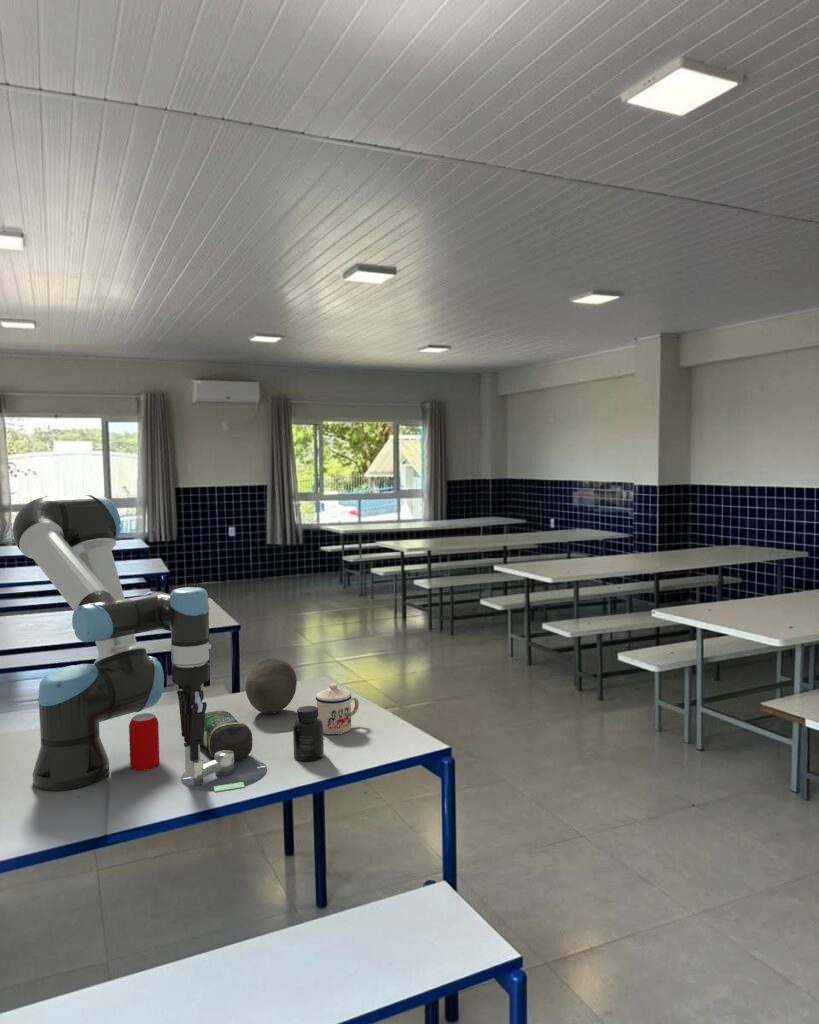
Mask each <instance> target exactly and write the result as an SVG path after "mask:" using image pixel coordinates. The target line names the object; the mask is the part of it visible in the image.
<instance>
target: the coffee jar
mask: <svg viewBox="0 0 819 1024" xmlns="http://www.w3.org/2000/svg"><path fill="white" fill-rule="evenodd" d="M200 745H201V746H202V747H204V748H205V749H207V750H208V752H209V754H210V756H211V757H212V758H214V759H215V753H217V752H219V751H223V750H230V751H233V752H234V760H238V759H242V758H247V757H248V756H249V755H250V754H251V752H252V750H253V733H252V730H251V729H250V727H249V725H247V724H246V723H244V722H240V721H238V720H237V719H236V718H235V717H234V716H233V714H232V713H230V712H229V711H227V710H214V711H209V712H205V723H204V738H203V744H200Z"/></svg>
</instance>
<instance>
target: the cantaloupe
mask: <svg viewBox="0 0 819 1024" xmlns="http://www.w3.org/2000/svg"><path fill="white" fill-rule="evenodd" d="M297 680H298V679H297V675H296V672H295V670H294V668H293V667H292V665H291V664H290V663H288V661H286V660H284V659H280V658H273V657H271V658H265V659H262V660H260V661H257V662H256V663H255V664H254V665H253V666H252V668H250V670H249V672H248V674H247V678H246V683H245V693H246V694H245V695H246V697H247V699H248V701H249V703H250V705H251V706H252V707H253V708H254V709H255V710H256V711H257V712H259V713H262V714H266V715H271V714H272V715H274V714H276V713H278V712H280V711H282V710H283V709H285V708H286V707H288V706H289V705H290V703H291V702H292V700H293V699H294V697H295V694H296V692H297V691H296V690H297V684H298V683H297V682H298V681H297Z"/></svg>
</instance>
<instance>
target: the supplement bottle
mask: <svg viewBox="0 0 819 1024" xmlns="http://www.w3.org/2000/svg"><path fill="white" fill-rule="evenodd" d="M318 716H319V714H318V707H317V706H314V705H305V706H300V707H299V708H297V710H296V718H297V719H296V720H295V721H294V722H293V725H292V732H293V733H292V737H293V739H292V740H293V759H294V760H295V761H297V762H300V763H313V762H317V761H320V760H322V759H323V758H324V755H325V754H324V753H325V752H324V750H325V749H324V748H325V747H324V744H325V743H324V734H323V723H322V721H321V720H320V719H319V718H318Z"/></svg>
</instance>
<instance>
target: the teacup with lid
mask: <svg viewBox="0 0 819 1024" xmlns="http://www.w3.org/2000/svg"><path fill="white" fill-rule="evenodd" d="M315 700H316V707H318V714H319V716H318V718H319V719H320V720H321V721H322V723H323V735H326V734H338V735H342V734H341V733H343V734H346V733H348V732H349V731H350V730H351V729H352V717H353V716H355V714H356V713H358V710H359V707H360V702H359V699H358V698H356V697H355V696H352V693H351V692H350V691H349V690H346V689H342V688H341V687H338V684H337V683H330V684H329V687H327V688H326V689H323V690H321V691H318V692H317V694H316V696H315ZM352 701H354V707H353V709H352ZM347 731H348V732H347ZM345 732H346V733H345Z"/></svg>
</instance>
